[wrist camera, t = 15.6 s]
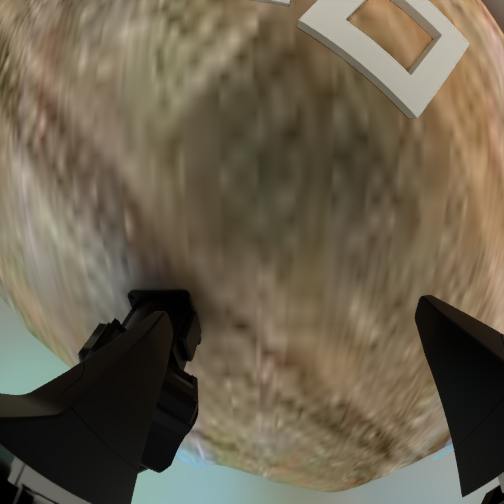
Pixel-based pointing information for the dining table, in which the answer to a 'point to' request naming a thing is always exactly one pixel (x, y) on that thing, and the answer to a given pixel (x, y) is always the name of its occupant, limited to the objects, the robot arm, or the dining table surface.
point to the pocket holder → (379, 61)
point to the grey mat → (277, 2)
